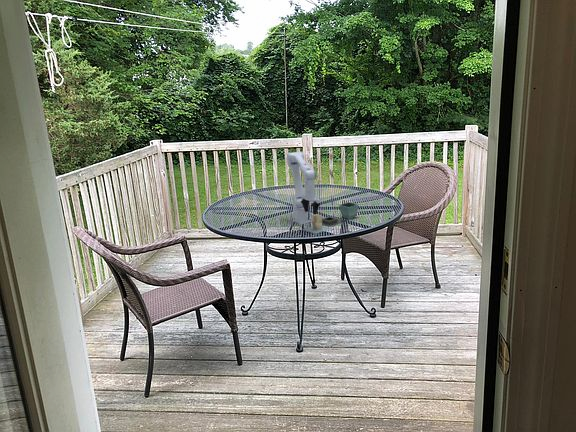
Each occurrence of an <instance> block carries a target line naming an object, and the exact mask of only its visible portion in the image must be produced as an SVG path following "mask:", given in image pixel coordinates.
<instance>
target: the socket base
mask: <svg viewBox="0 0 576 432" xmlns="http://www.w3.org/2000/svg"><path fill="white" fill-rule="evenodd" d="M346 222H348V220H346V219H342V218H338V217H334V216H326V217H322V226H324V227H328V228H332V227H334V226H337V225H340V224H342V223H343V224H344V223H346Z"/></svg>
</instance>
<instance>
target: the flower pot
mask: <svg viewBox="0 0 576 432" xmlns="http://www.w3.org/2000/svg"><path fill="white" fill-rule="evenodd" d="M338 206H339V213H340V215H341V217H342V218H344V219H345V220H346V219H347V220H351V219H355V218H356V216H357V215H358V211H359V204H357V203H353V202H350V201H348V202H345V203H341V204H339V205H338Z"/></svg>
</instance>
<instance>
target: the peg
mask: <svg viewBox="0 0 576 432" xmlns="http://www.w3.org/2000/svg"><path fill="white" fill-rule="evenodd" d="M311 218H312V220H311V223H312V226H313V229H315V230H319V229H322V226H323V225H322V218H323V215H321V214H318V213H317V214H315V215H314V214H313V215H311Z"/></svg>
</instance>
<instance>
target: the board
mask: <svg viewBox="0 0 576 432" xmlns="http://www.w3.org/2000/svg"><path fill="white" fill-rule="evenodd" d="M331 229H332V227H327V226H323V225H322V229H319V230H315V229H313V225H311V226H307V227H305V228H302V231H305V232H308V233H310V234H314V235H318V234H319V233H322V232H325V231H327V230H331Z"/></svg>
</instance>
